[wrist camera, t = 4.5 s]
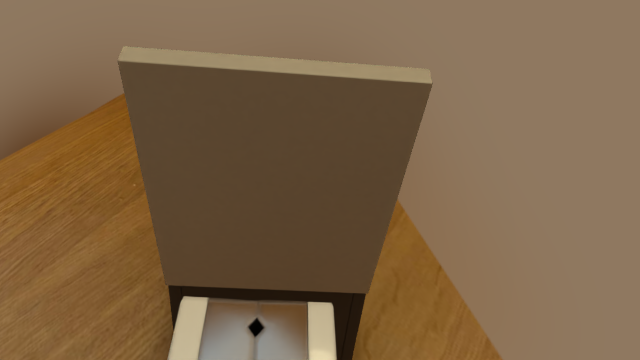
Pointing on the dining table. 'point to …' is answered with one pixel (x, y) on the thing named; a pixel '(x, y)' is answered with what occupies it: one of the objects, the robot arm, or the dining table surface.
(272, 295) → the open box
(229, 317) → the robot arm
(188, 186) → the box lid
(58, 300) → the dining table surface
